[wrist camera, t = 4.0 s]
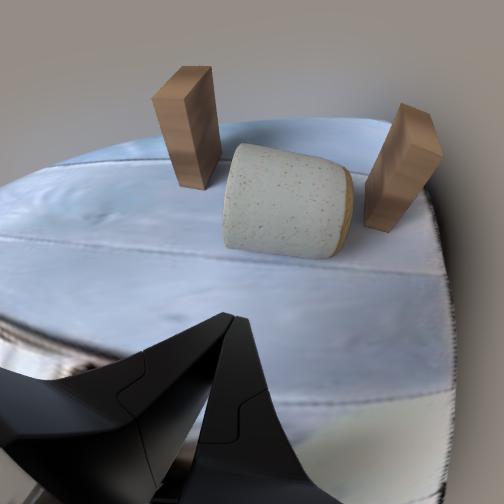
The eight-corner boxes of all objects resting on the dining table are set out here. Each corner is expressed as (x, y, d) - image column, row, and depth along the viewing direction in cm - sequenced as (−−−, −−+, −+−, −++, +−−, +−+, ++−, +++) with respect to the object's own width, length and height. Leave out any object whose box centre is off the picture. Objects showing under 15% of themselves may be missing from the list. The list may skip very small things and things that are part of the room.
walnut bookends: (388, 232, 22) (443, 157, 13) (179, 186, 25) (151, 98, 16) (387, 190, 25) (429, 114, 15) (198, 149, 27) (182, 66, 18)
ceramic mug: (331, 277, 21) (365, 225, 14) (225, 265, 21) (213, 206, 14) (329, 175, 26) (348, 112, 19) (245, 164, 26) (243, 99, 19)
